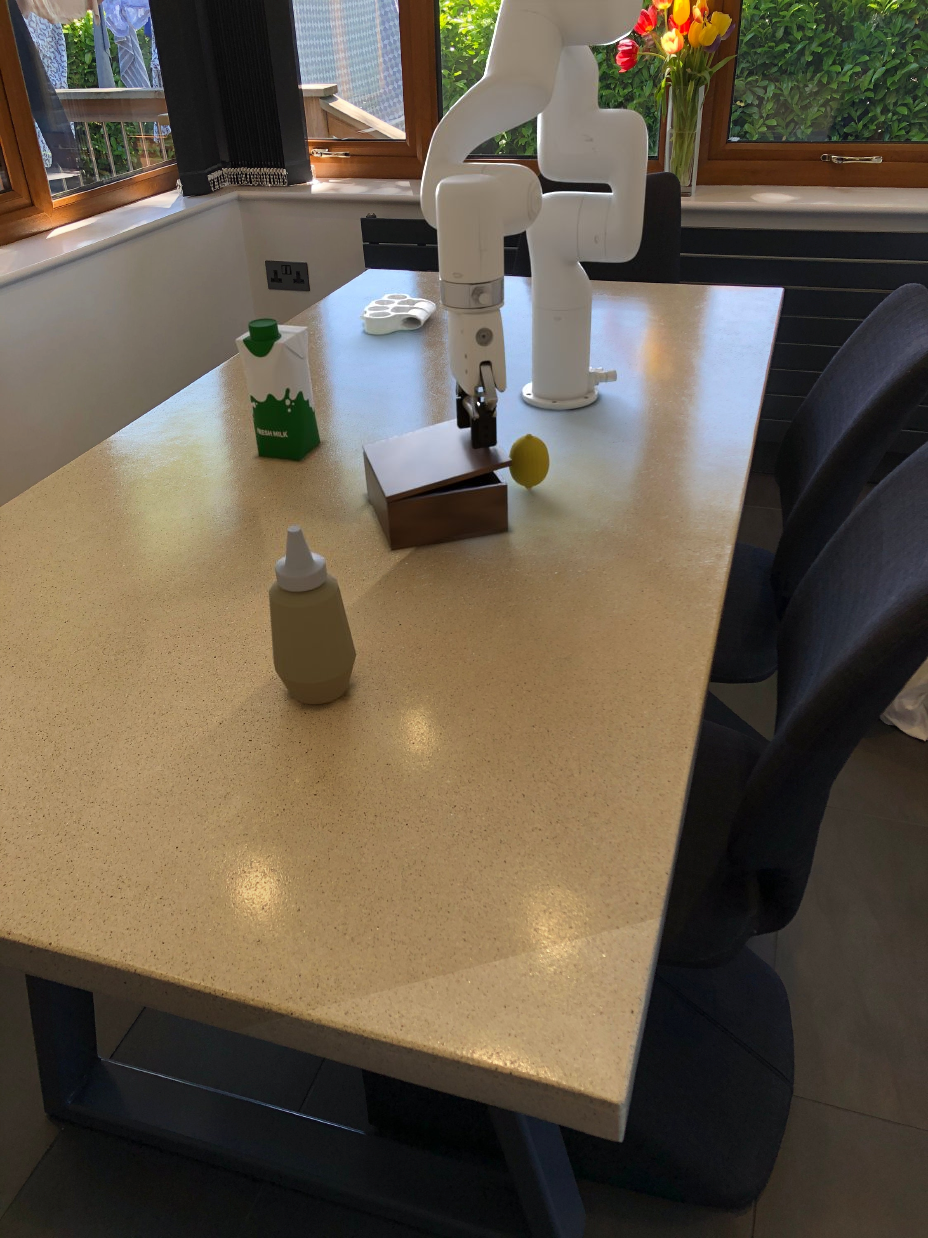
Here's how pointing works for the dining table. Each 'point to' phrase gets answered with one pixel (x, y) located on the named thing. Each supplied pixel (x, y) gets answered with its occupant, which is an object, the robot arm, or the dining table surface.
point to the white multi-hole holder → (396, 314)
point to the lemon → (529, 461)
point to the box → (441, 511)
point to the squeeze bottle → (309, 625)
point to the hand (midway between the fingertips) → (476, 435)
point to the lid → (430, 458)
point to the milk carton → (279, 389)
